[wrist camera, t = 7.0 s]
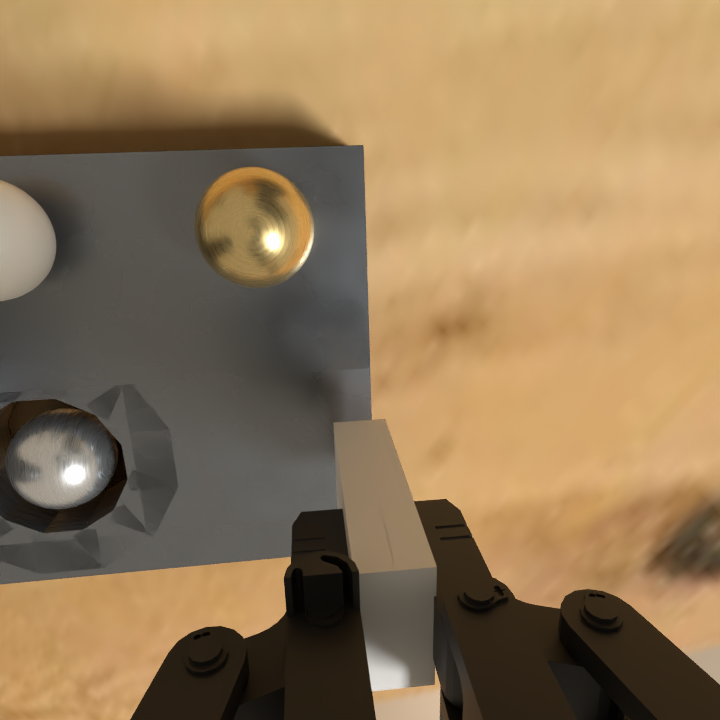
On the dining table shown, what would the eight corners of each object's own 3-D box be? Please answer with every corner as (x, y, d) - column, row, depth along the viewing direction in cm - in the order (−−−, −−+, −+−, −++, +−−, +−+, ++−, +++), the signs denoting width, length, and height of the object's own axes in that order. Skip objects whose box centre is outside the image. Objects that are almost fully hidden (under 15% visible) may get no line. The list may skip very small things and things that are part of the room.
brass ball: (198, 170, 15) (174, 167, 12) (309, 166, 15) (312, 162, 13) (210, 280, 16) (192, 301, 13) (315, 275, 16) (319, 294, 13)
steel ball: (-28, 431, 16) (85, 430, 16) (32, 395, 19) (126, 394, 19) (-7, 530, 17) (99, 528, 17) (47, 480, 20) (137, 478, 20)
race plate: (-120, 165, 16) (-190, 161, 14) (354, 150, 18) (363, 145, 15) (-15, 542, 20) (-56, 589, 18) (366, 508, 22) (375, 548, 19)
